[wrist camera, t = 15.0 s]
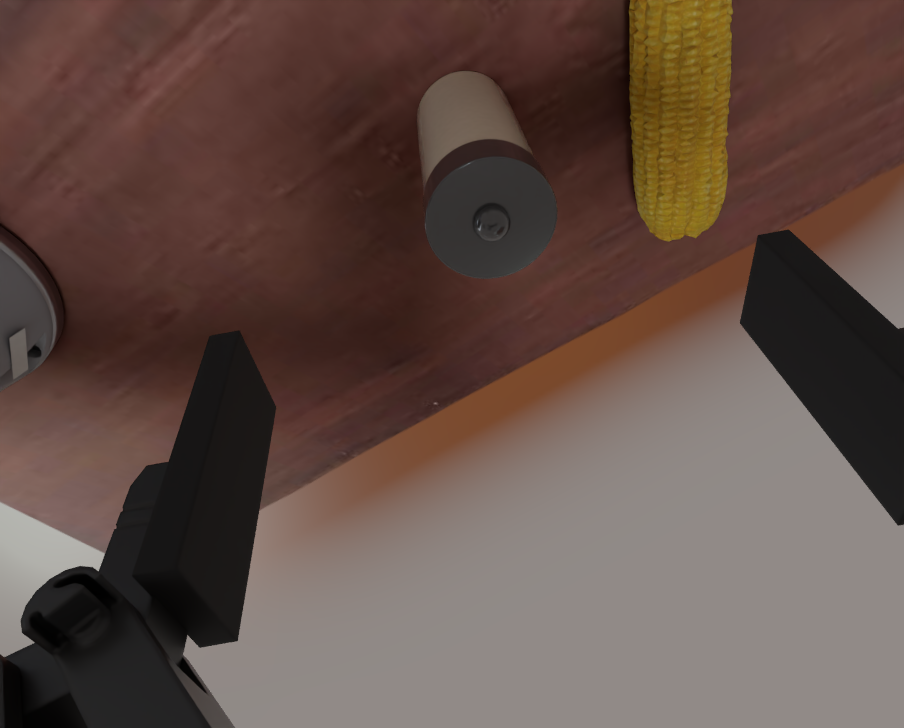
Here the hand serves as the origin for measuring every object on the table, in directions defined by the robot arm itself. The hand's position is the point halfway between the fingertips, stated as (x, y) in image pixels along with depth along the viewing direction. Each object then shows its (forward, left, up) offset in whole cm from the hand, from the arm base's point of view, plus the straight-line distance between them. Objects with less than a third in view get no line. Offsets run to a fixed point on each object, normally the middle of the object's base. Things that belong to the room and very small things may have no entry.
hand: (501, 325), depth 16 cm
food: (+13, -3, -27) cm, 30 cm away
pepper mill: (+1, -4, -27) cm, 27 cm away
